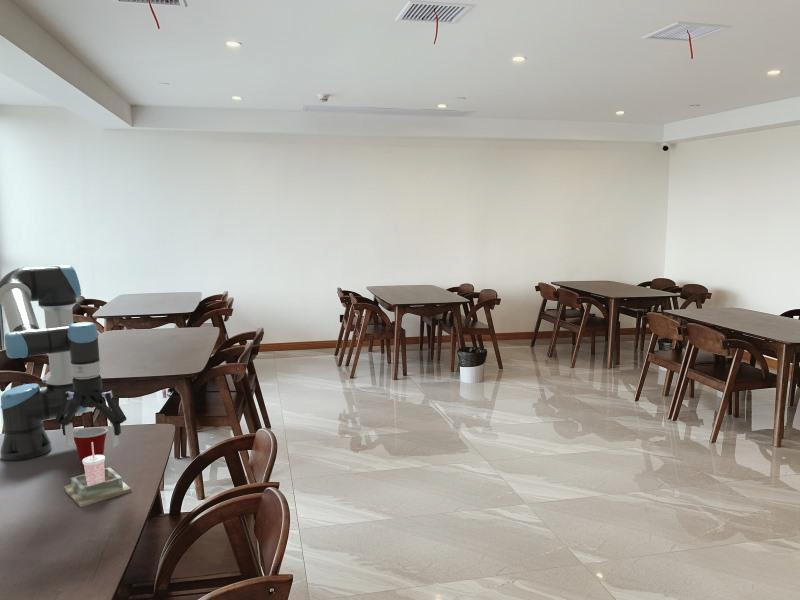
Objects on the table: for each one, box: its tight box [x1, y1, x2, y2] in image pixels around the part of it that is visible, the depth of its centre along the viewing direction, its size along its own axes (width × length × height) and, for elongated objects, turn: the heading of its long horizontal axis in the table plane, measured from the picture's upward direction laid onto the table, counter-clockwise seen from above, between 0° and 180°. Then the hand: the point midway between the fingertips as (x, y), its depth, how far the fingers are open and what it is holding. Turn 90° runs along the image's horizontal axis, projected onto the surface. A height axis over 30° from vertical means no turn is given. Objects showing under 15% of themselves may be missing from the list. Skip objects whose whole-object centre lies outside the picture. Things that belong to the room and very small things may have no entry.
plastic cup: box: [73, 426, 109, 469], centre depth 201 cm, size 11×11×12 cm
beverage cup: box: [82, 442, 106, 486], centre depth 182 cm, size 6×6×14 cm
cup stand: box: [63, 466, 132, 508], centre depth 183 cm, size 16×14×4 cm
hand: (93, 445), depth 182 cm, fingers open, 13 cm apart
